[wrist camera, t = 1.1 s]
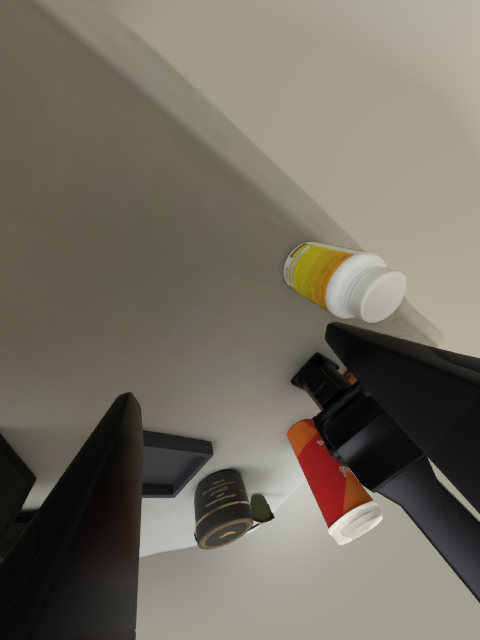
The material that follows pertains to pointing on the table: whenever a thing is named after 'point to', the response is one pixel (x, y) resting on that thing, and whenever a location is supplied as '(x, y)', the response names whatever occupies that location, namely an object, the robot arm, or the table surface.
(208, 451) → the tray
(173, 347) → the table surface
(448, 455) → the robot arm
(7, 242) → the table surface
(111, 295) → the table surface
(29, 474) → the digital camera
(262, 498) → the sunglasses
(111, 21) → the table surface
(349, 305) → the supplement bottle
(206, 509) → the jar
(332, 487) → the coffee cup
